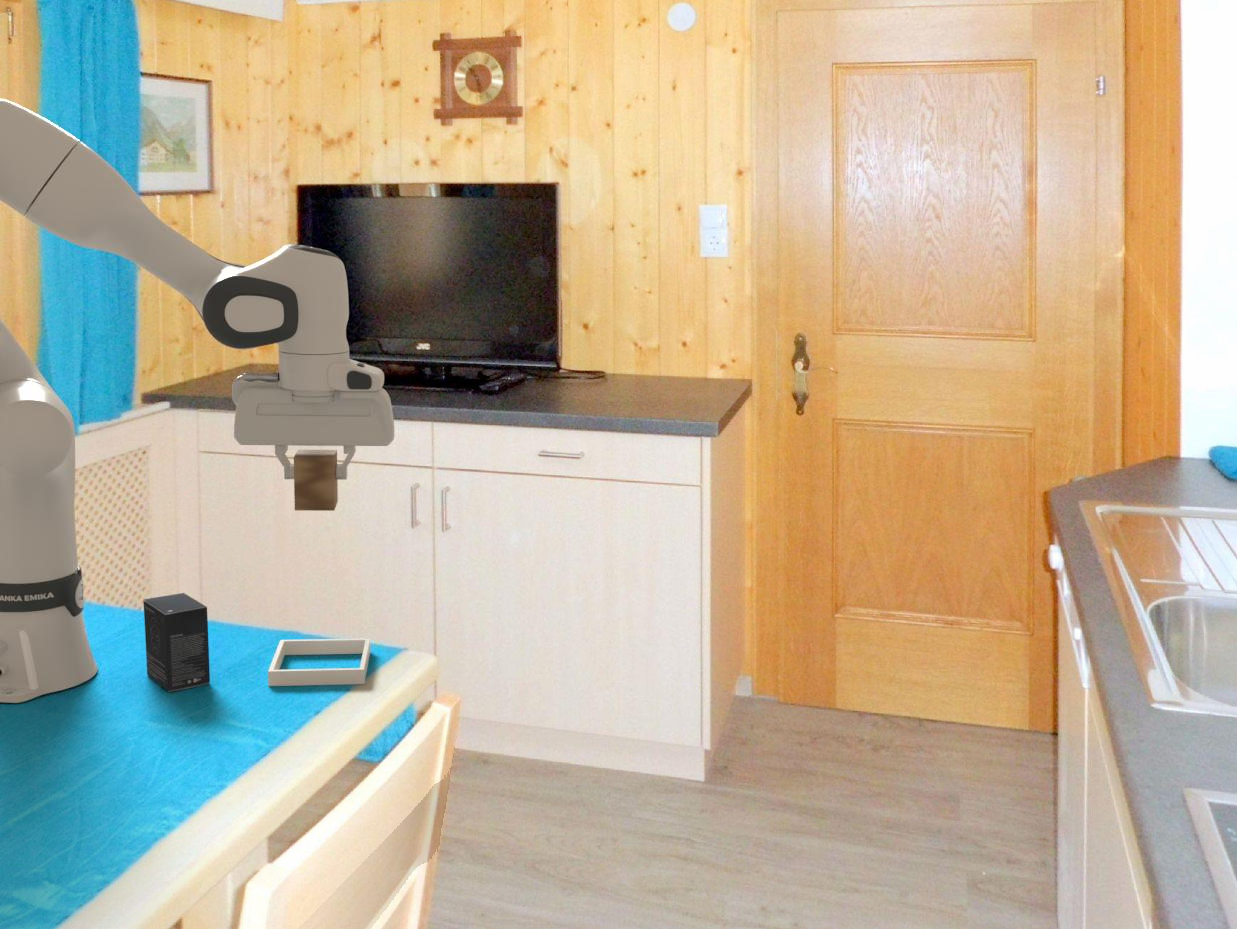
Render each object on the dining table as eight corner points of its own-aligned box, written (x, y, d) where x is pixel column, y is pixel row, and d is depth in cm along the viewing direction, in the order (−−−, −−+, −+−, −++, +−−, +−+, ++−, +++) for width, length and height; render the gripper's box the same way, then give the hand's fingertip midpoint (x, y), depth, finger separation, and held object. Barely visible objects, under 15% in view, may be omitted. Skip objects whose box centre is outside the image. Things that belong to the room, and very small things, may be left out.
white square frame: (268, 686, 173) (267, 671, 172) (280, 653, 184) (280, 639, 184) (364, 684, 174) (364, 669, 174) (370, 652, 186) (370, 638, 185)
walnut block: (294, 510, 172) (293, 457, 170) (299, 501, 177) (298, 449, 175) (334, 510, 172) (333, 457, 171) (337, 501, 177) (337, 449, 176)
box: (211, 684, 173) (208, 606, 171) (168, 693, 170) (164, 614, 167) (188, 666, 179) (184, 591, 177) (145, 675, 175) (141, 598, 173)
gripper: (226, 375, 167) (230, 483, 170) (392, 377, 169) (393, 484, 172) (235, 368, 173) (238, 473, 176) (395, 371, 175) (395, 474, 178)
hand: (316, 478), depth 174 cm, fingers closed on walnut block, 5 cm apart
